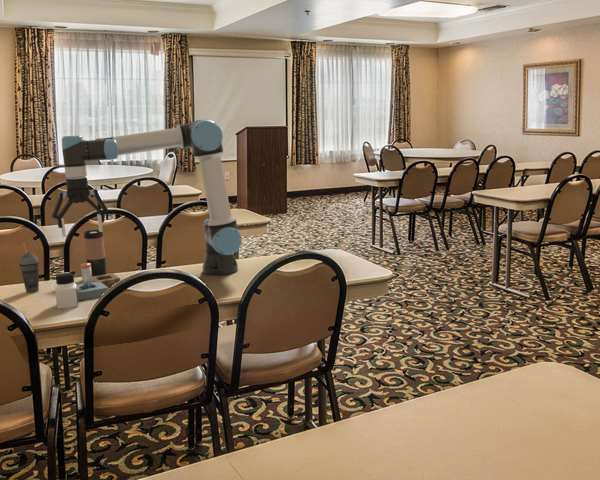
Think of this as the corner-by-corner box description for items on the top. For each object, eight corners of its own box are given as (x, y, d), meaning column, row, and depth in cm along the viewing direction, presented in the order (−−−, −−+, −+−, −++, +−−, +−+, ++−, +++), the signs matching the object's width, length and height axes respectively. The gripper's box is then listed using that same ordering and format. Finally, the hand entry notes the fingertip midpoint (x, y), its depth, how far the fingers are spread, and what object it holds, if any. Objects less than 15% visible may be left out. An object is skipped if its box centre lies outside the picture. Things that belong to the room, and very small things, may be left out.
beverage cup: (35, 294, 244) (29, 244, 240) (18, 294, 245) (12, 244, 241) (46, 289, 251) (40, 240, 247) (29, 288, 252) (23, 240, 248)
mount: (113, 280, 261) (112, 273, 261) (120, 285, 253) (120, 278, 252) (89, 284, 256) (88, 277, 255) (95, 289, 248) (94, 282, 247)
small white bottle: (92, 292, 244) (89, 262, 242) (94, 294, 241) (91, 264, 239) (82, 294, 242) (79, 264, 240) (85, 296, 239) (82, 265, 237)
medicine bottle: (78, 306, 226) (74, 274, 223) (57, 309, 223) (53, 277, 221) (78, 301, 232) (74, 270, 230) (57, 304, 230) (54, 272, 228)
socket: (100, 288, 250) (99, 281, 249) (108, 294, 240) (108, 287, 239) (68, 293, 243) (68, 286, 243) (76, 300, 233) (75, 293, 233)
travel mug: (110, 275, 270) (105, 229, 266) (102, 279, 262) (98, 233, 258) (93, 275, 271) (88, 230, 267) (85, 280, 263) (80, 233, 259)
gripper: (107, 174, 242) (112, 228, 246) (38, 180, 229) (46, 236, 233) (112, 175, 236) (118, 230, 240) (43, 181, 223) (50, 239, 227)
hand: (82, 233), depth 237 cm, fingers open, 13 cm apart
